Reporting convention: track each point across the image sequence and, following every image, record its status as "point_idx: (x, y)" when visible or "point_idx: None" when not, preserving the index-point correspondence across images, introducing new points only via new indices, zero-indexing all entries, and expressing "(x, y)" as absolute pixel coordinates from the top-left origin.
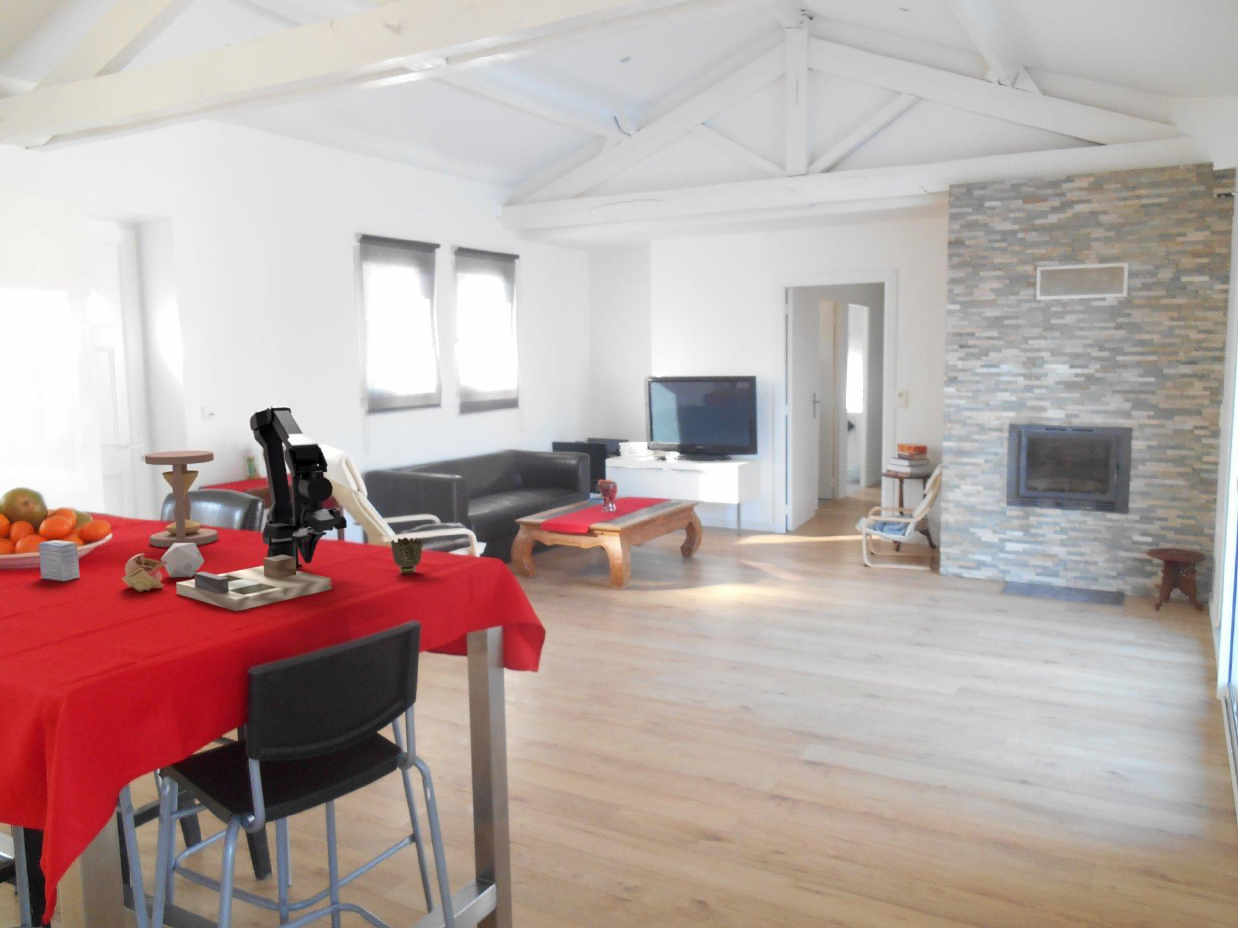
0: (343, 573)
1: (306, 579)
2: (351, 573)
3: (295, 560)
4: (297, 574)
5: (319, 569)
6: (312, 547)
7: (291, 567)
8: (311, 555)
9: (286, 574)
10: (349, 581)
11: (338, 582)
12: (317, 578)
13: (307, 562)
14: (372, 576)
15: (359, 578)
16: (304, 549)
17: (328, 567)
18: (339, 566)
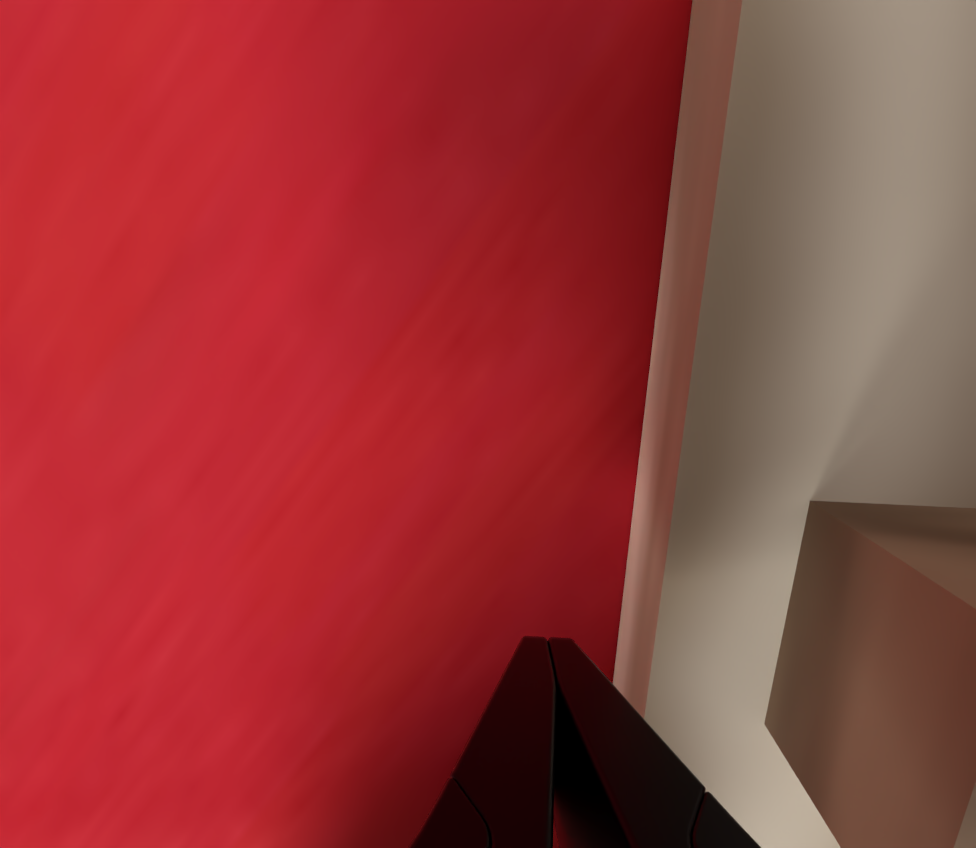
0: (166, 493)
1: (972, 148)
2: (111, 429)
3: (966, 604)
4: (797, 494)
5: (228, 772)
6: (530, 814)
7: (957, 553)
8: (526, 696)
9: (967, 519)
10: (326, 138)
11: (428, 206)
12: (857, 59)
13: (575, 646)
14: (18, 116)
15: (172, 164)
16: (731, 827)
17: (135, 770)
18: (47, 729)
